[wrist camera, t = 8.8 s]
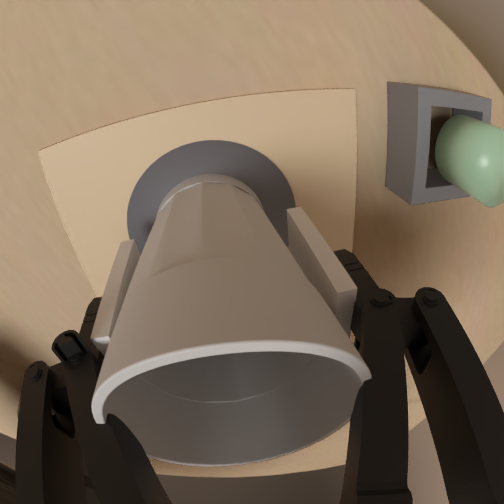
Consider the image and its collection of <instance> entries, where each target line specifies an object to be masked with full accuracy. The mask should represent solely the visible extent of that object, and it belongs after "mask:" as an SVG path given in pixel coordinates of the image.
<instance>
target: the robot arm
mask: <svg viewBox="0 0 504 504" xmlns="http://www.w3.org/2000/svg"><path fill="white" fill-rule="evenodd" d="M287 223H288V239H289V251H290V253H291V254H292V256H293V257H294V259H295V260H296V262H297V264H298V265H299V267H300V268H301V270H302V271H303V273H304V275H305V276H306V278H307V279H308V281H309V282H310V283H311V284H312V285H313V286H314V287H315V288H316V289H317V290H318V292H319V293H320V295H321V296H322V298H323V299H324V301H325V302H326V304H327V305H328V307H329V308H330V310H331V311H332V313H333V314H334V316H335V317H336V319H337V320H338V322H339V323H340V325H341V326H342V328H343V329H344V331H345V332H346V334H347V335H348V337H349V338H350V332H351V330H352V332H353V334H354V336H355V342H354V346H355V348H356V349H357V351H358V352H359V354H360V356H361V357H362V359H363V360H364V362H365V363H366V365H367V367H368V368H369V370H370V373H371V376H372V378H371V379H368V380H366V381H364V382H363V385H362V386H361V387H360V389H359V391H358V393H357V396H356V400H355V404H354V408H353V412H352V415H351V420H350V431H349V441H348V450H347V459H346V467H345V474H344V481H343V487H342V494H341V499H340V503H339V504H412V494H411V492H410V490H409V489H408V486H407V473H408V401H407V384H406V371H405V360H404V355H405V357H406V360H407V362H408V365H409V368H410V370H411V373H412V376H413V379H414V381H415V384H416V387H417V390H418V393H419V396H420V399H421V402H422V405H423V408H424V411H425V414H426V417H427V420H428V423H429V426H430V430H431V433H432V437H433V440H434V444H435V447H436V451H437V455H438V458H439V462H440V466H441V470H442V474H443V479H444V483H445V487H446V491H447V496H448V500H449V504H504V412H503V410H502V407H501V405H500V403H499V400H498V398H497V395H496V393H495V391H494V389H493V386H492V384H491V382H490V380H489V378H488V376H487V373H486V371H485V369H484V367H483V365H482V363H481V361H480V359H479V357H478V355H477V353H476V351H475V349H474V347H473V345H472V344H471V342H470V340H469V338H468V336H467V334H466V333H465V331H464V329H463V327H462V325H461V324H460V322H459V320H458V318H457V317H456V315H455V313H454V312H453V310H452V308H451V307H450V305H449V303H448V302H447V300H446V298H445V297H444V295H443V294H442V293H441V292H440V291H438V290H436V289H434V288H430V287H424V288H421V289H419V290H418V291H417V292H416V294H415V297H414V298H396V297H395V296H394V295H393V294H392V293H391V292H390V291H387V290H385V289H381V288H379V287H378V286H377V284H376V283H375V282H374V280H373V279H372V278H371V276H370V275H369V273H368V272H367V271H366V269H364V267H363V265H362V264H361V263H360V262H359V260H358V259H357V258H356V256H355V255H354V254H353V253H351V252H349V251H348V250H346V249H342V250H337V251H332V250H331V248H330V247H329V245H328V244H327V242H326V241H325V240H324V238H323V237H322V235H321V234H320V233H319V231H318V230H317V228H316V227H315V226H314V224H313V223H312V221H311V220H310V219H309V217H308V216H307V215H306V213H305V212H304V210H303V209H302V208H301V207H296V208H290V209H287ZM139 259H140V254H139V251H138V248H137V245H136V243H135V240H134V239H132V240H127V241H123V242H121V243H120V246H119V249H118V251H117V254H116V257H115V260H114V263H113V265H112V268H111V271H110V274H109V277H108V280H107V283H106V286H105V290H104V293H103V296H102V297H97V298H94V299H93V300H92V302H91V303H90V304H89V306H88V308H87V311H86V314H85V317H84V320H83V323H82V326H81V330H80V333H78V332H76V331H75V330H68V331H65V332H63V333H61V334H60V335H58V336H57V338H56V339H55V340H54V342H53V344H52V351H53V352H54V353H55V354H56V356H57V357H58V358H59V359H60V361H61V363H59V364H56V365H54V366H51V367H49V366H48V365H47V364H46V363H45V362H43V361H37V362H34V363H33V364H31V365H30V366H29V367H28V369H27V370H26V373H25V376H24V381H23V387H22V394H21V398H20V402H19V406H18V411H17V414H18V427H17V441H16V469H14V468H12V467H10V466H8V465H6V464H5V463H3V462H1V461H0V504H172V503H171V501H170V499H169V497H168V496H167V494H166V492H165V490H164V488H163V487H162V485H161V483H160V481H159V479H158V477H157V475H156V473H155V471H154V469H153V467H152V465H151V463H150V461H149V459H148V457H147V455H146V453H145V451H144V449H143V446H142V445H141V443H140V442H139V441H138V439H137V438H136V437H135V435H134V434H133V433H132V432H131V430H130V429H129V428H128V427H127V426H126V425H125V424H124V422H123V421H122V420H120V419H119V418H118V417H117V416H115V415H113V414H110V413H108V414H107V419H106V423H105V424H97V423H96V421H95V419H94V417H93V414H92V407H91V406H92V399H93V395H94V391H95V388H96V384H97V381H98V377H99V374H100V371H101V367H102V364H103V361H104V357H105V354H106V351H107V348H108V345H109V342H110V339H111V336H112V333H113V330H114V327H115V324H116V321H117V319H118V316H119V313H120V310H121V307H122V305H123V302H124V299H125V296H126V293H127V290H128V288H129V285H130V282H131V280H132V277H133V274H134V272H135V269H136V266H137V264H138V261H139Z"/></svg>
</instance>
